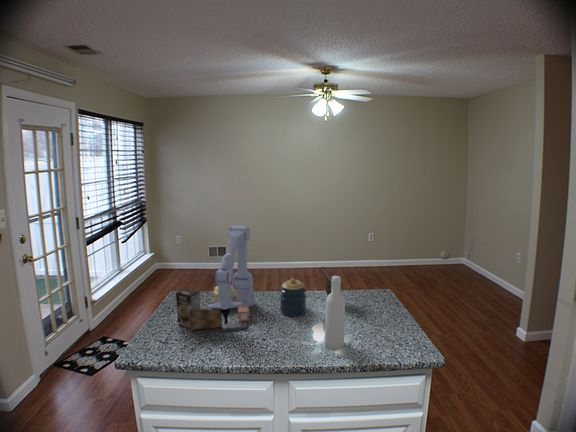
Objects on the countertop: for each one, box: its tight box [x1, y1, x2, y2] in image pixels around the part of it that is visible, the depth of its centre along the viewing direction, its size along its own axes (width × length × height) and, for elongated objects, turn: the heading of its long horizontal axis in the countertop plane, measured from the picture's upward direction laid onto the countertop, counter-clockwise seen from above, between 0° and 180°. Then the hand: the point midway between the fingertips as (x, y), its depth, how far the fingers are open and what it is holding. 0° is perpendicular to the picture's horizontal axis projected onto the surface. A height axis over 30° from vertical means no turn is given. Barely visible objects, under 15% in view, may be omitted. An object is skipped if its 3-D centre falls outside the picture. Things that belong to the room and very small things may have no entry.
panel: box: [189, 307, 223, 331], centre depth 152 cm, size 14×2×9 cm, turn 100°
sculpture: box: [213, 284, 236, 303], centre depth 179 cm, size 11×12×11 cm
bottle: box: [324, 275, 346, 350], centre depth 139 cm, size 8×8×30 cm
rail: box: [192, 321, 248, 335], centre depth 154 cm, size 24×4×1 cm, turn 100°
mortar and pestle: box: [319, 266, 343, 296], centre depth 178 cm, size 12×9×20 cm
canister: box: [279, 277, 307, 318], centre depth 170 cm, size 13×13×18 cm
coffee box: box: [175, 287, 201, 329], centre depth 158 cm, size 9×6×16 cm
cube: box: [237, 307, 250, 323], centre depth 163 cm, size 5×5×5 cm
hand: (226, 322), depth 154 cm, fingers closed
